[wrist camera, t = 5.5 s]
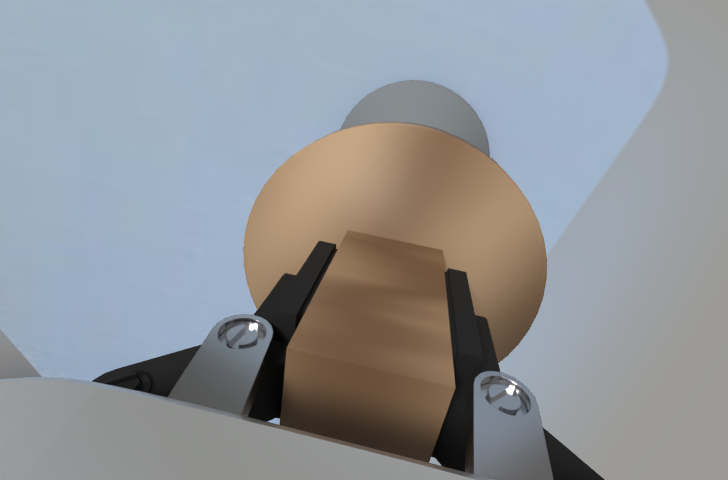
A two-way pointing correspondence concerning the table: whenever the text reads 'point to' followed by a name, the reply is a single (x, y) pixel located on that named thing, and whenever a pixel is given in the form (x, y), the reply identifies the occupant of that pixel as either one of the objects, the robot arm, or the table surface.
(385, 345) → the lid
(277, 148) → the table surface
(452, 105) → the coaster
